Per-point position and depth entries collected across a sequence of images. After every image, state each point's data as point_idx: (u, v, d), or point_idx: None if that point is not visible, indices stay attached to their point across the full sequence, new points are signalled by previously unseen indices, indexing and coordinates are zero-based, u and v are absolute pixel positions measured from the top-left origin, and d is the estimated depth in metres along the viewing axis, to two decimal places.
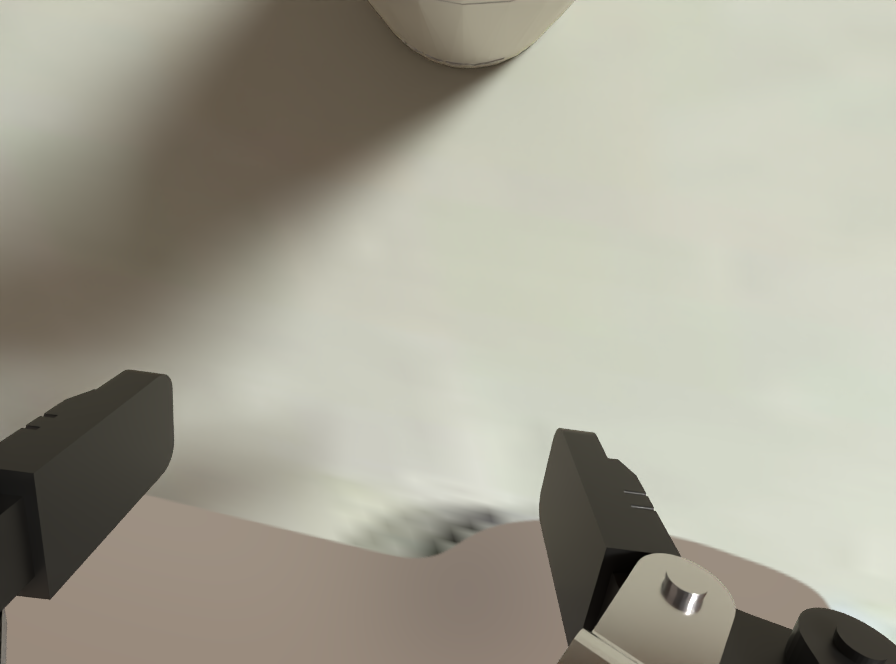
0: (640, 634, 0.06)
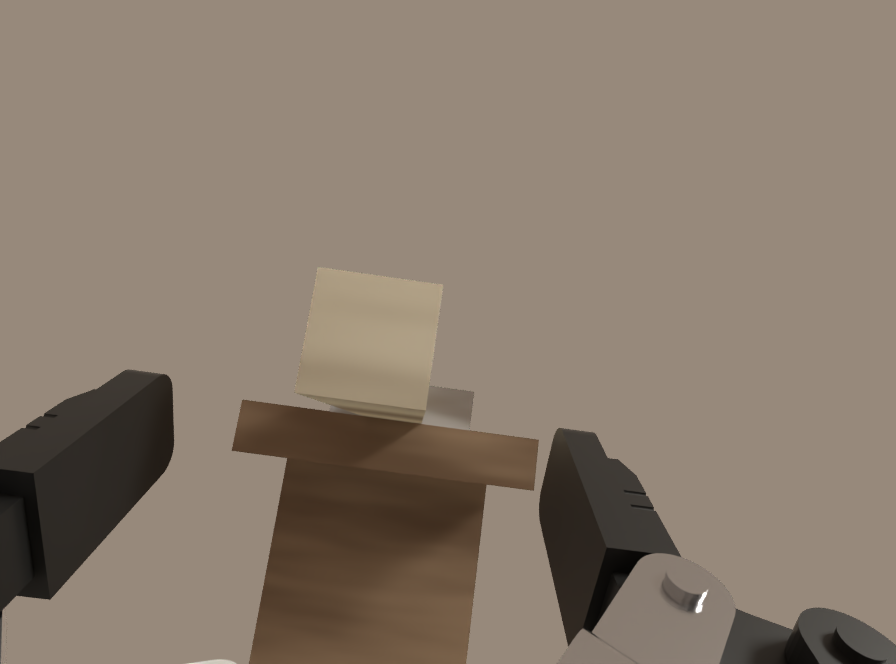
0: (639, 634, 0.06)
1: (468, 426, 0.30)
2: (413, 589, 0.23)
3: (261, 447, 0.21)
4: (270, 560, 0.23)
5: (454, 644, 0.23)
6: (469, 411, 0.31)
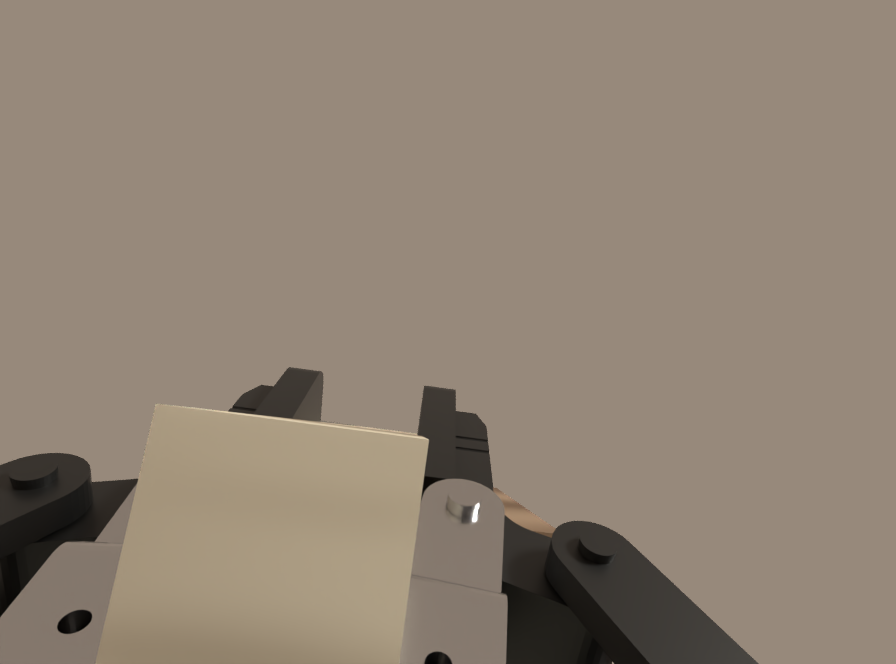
0: None
1: None
2: None
3: None
4: None
5: None
6: None
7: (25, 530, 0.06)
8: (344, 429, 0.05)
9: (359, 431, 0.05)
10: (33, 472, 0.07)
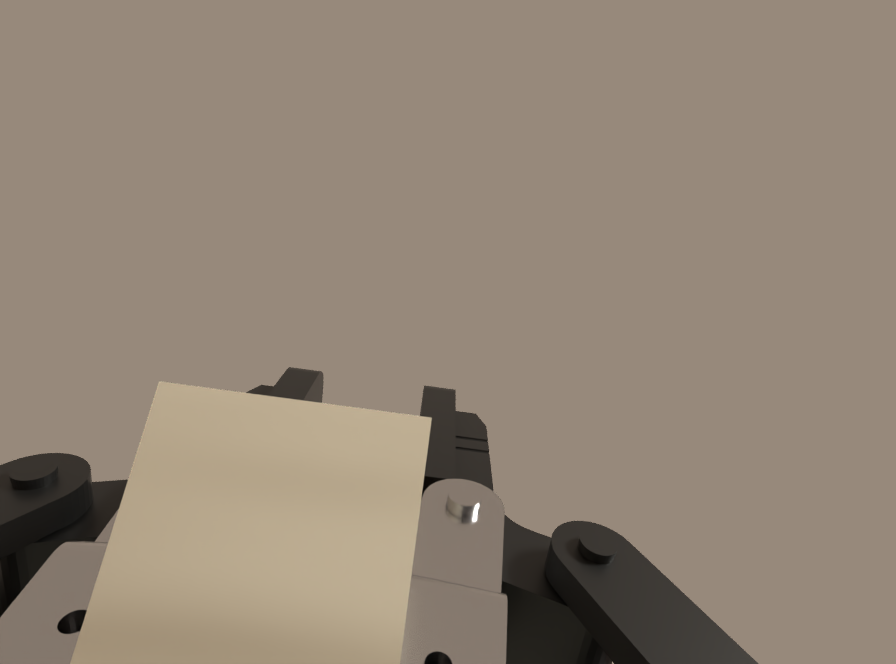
0: None
1: None
2: None
3: None
4: None
5: None
6: None
7: (25, 530, 0.06)
8: (347, 407, 0.05)
9: (362, 409, 0.05)
10: (33, 472, 0.07)
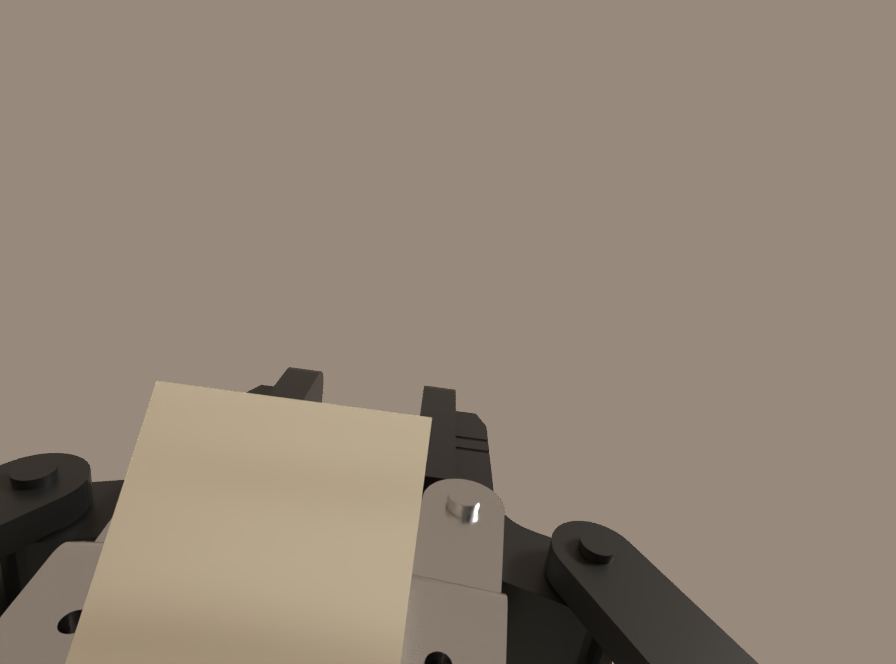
0: None
1: None
2: None
3: None
4: None
5: None
6: None
7: (25, 530, 0.06)
8: (347, 407, 0.05)
9: (362, 409, 0.05)
10: (33, 472, 0.07)
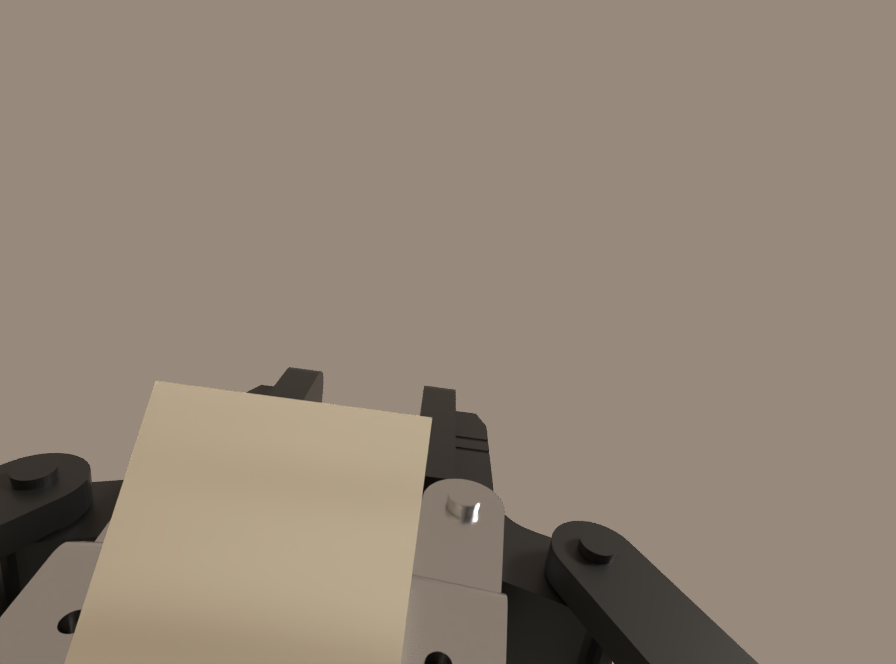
0: None
1: None
2: None
3: None
4: None
5: None
6: None
7: (25, 530, 0.06)
8: (347, 407, 0.05)
9: (362, 409, 0.05)
10: (32, 471, 0.07)
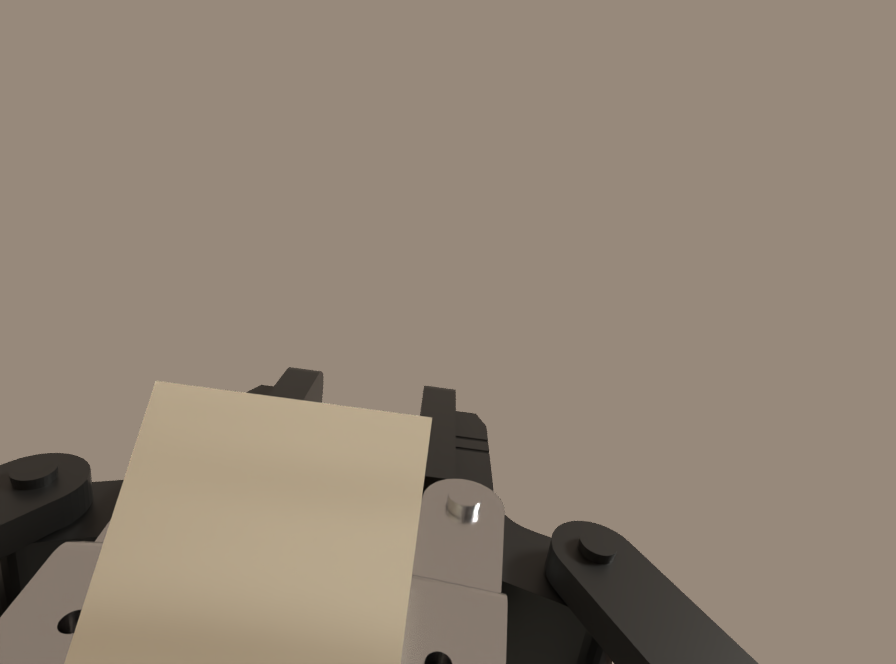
0: None
1: None
2: None
3: None
4: None
5: None
6: None
7: (25, 530, 0.06)
8: (346, 407, 0.05)
9: (361, 409, 0.05)
10: (33, 471, 0.07)
